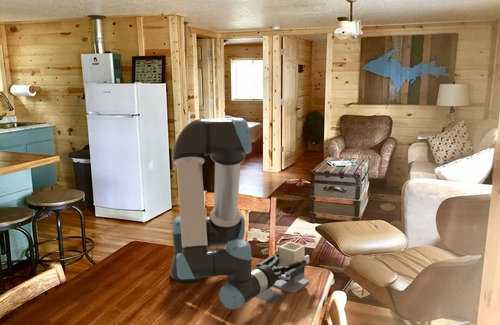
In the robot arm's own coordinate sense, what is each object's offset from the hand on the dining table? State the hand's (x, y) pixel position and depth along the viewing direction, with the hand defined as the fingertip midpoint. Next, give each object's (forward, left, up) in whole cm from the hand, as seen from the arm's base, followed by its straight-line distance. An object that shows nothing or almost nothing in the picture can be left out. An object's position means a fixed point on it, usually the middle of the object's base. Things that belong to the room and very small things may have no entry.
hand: (299, 255), depth 150 cm
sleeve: (0, -5, -7) cm, 8 cm away
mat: (-2, -16, -10) cm, 19 cm away
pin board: (-5, -5, -10) cm, 12 cm away
